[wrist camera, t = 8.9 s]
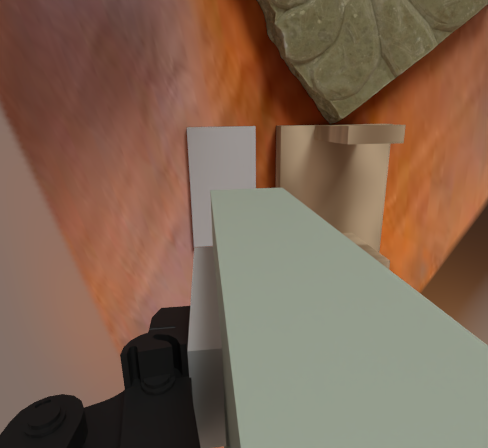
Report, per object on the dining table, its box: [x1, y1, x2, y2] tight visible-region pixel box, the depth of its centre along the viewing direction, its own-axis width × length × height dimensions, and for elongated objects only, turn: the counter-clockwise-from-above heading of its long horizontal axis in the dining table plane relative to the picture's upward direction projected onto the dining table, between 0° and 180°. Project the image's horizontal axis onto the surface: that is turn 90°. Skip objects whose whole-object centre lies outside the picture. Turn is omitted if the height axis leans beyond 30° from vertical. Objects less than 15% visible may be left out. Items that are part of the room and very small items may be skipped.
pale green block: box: [210, 188, 488, 448], centre depth 9 cm, size 3×7×12 cm, turn 1°
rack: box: [276, 124, 405, 269], centre depth 30 cm, size 10×18×9 cm, turn 1°
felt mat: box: [187, 126, 256, 247], centre depth 32 cm, size 6×11×1 cm, turn 1°
